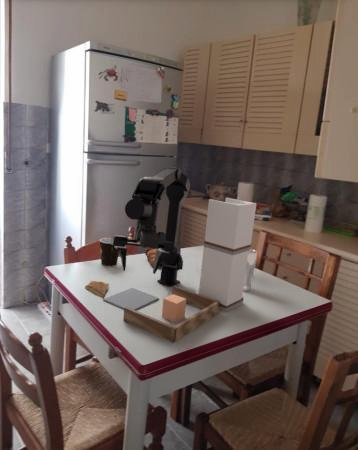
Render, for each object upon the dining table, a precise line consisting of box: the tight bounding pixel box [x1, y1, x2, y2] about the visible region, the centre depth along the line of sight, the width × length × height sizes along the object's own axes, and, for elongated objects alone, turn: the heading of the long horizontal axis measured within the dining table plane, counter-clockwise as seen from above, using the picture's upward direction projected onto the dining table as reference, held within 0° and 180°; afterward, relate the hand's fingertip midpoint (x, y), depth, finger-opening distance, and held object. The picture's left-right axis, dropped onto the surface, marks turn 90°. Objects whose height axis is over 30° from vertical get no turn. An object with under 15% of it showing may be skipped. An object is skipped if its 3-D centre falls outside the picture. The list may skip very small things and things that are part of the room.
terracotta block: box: [161, 293, 187, 323], centre depth 114 cm, size 5×5×6 cm
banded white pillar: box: [198, 197, 257, 313], centre depth 126 cm, size 11×11×35 cm
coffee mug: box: [99, 237, 120, 267], centre depth 155 cm, size 12×9×10 cm
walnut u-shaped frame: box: [123, 285, 220, 344], centre depth 115 cm, size 25×18×4 cm
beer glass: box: [243, 248, 258, 292], centre depth 142 cm, size 7×7×15 cm
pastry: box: [144, 247, 161, 269], centre depth 166 cm, size 17×15×8 cm
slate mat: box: [102, 287, 160, 311], centre depth 124 cm, size 14×12×1 cm
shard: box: [84, 280, 110, 298], centre depth 129 cm, size 11×8×2 cm
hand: (139, 272), depth 112 cm, fingers open, 9 cm apart
